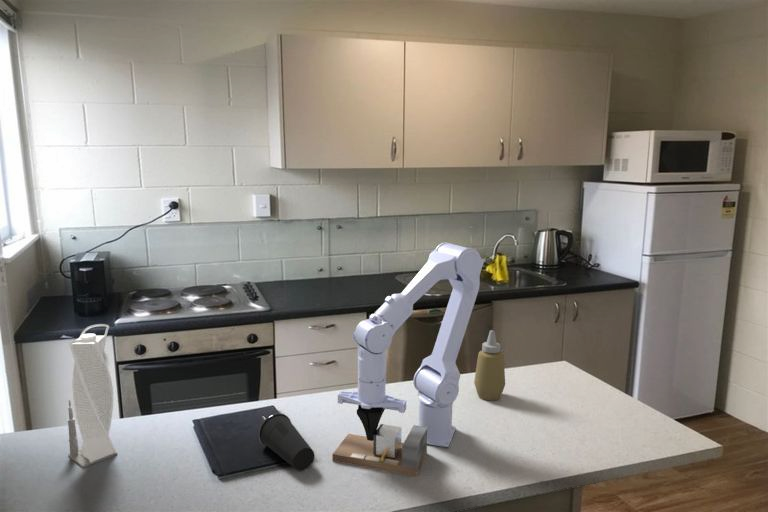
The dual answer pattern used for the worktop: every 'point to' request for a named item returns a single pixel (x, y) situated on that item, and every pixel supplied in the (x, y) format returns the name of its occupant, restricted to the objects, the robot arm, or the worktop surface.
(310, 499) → the worktop surface
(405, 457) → the gauge board
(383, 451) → the gauge carriage
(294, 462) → the drinking cup
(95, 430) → the skyscraper
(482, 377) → the squeeze bottle
